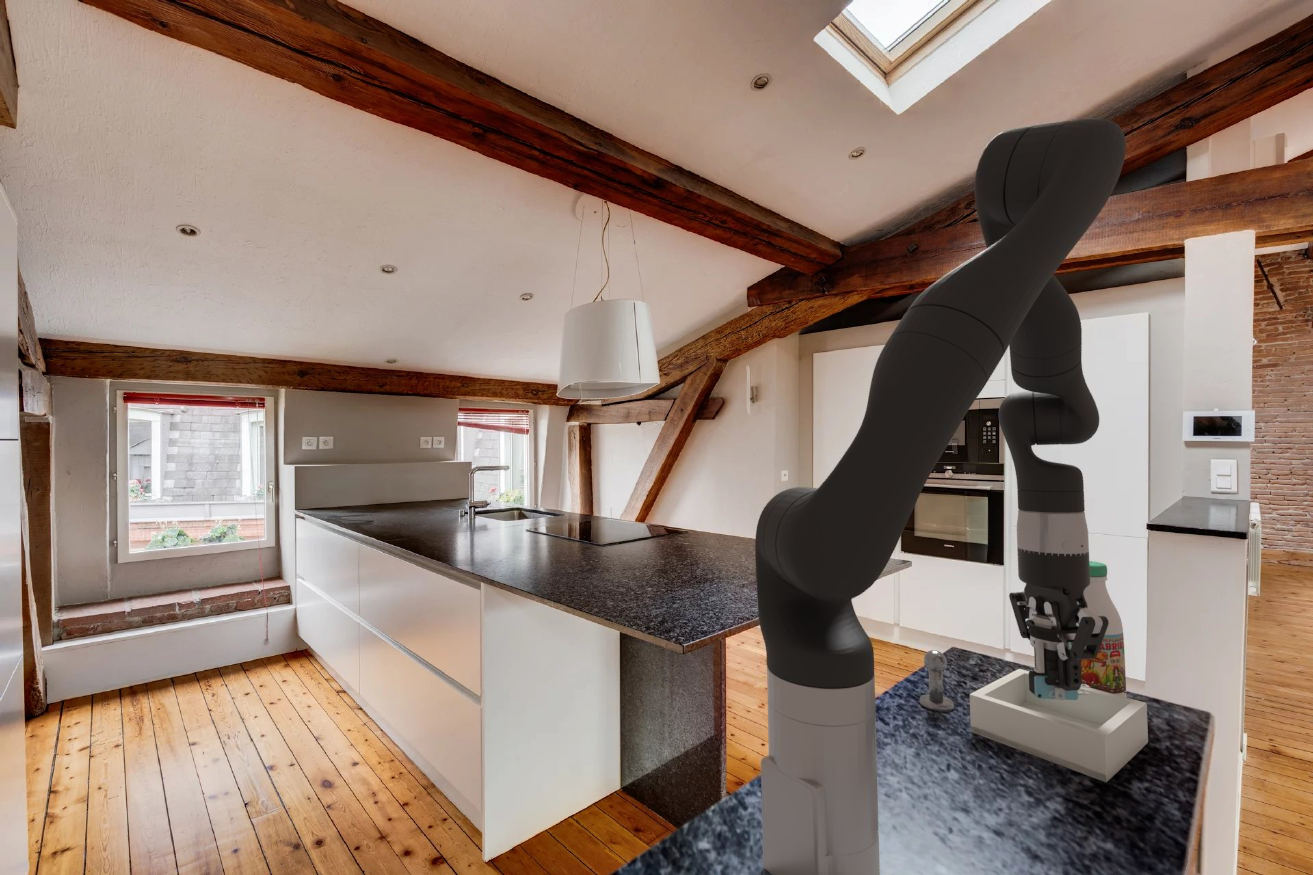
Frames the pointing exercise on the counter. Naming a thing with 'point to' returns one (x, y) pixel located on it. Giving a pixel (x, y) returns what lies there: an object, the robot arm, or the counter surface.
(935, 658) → the ball stud post
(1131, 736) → the bin
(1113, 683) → the milk bottle
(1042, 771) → the counter surface
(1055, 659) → the push button
